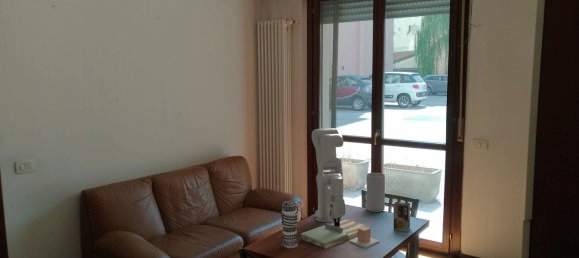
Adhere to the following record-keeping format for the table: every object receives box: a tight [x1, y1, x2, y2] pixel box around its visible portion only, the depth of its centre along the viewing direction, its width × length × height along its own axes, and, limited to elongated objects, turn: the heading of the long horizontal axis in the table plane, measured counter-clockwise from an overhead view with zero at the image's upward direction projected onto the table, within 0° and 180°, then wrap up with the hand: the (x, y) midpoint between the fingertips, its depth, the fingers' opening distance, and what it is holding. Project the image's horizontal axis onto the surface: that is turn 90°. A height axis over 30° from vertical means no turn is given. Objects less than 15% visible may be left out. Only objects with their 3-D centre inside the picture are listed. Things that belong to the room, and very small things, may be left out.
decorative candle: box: [280, 200, 299, 249], centre depth 234 cm, size 9×9×25 cm
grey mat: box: [348, 236, 380, 249], centre depth 237 cm, size 12×12×1 cm
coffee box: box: [392, 201, 411, 233], centre depth 255 cm, size 9×6×16 cm
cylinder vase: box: [365, 172, 386, 213], centre depth 294 cm, size 12×12×25 cm
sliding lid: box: [300, 222, 348, 244], centre depth 241 cm, size 19×19×4 cm
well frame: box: [301, 219, 371, 250], centre depth 249 cm, size 19×39×2 cm, turn 131°
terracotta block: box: [357, 226, 371, 243], centre depth 237 cm, size 5×5×7 cm
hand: (336, 227), depth 248 cm, fingers closed
